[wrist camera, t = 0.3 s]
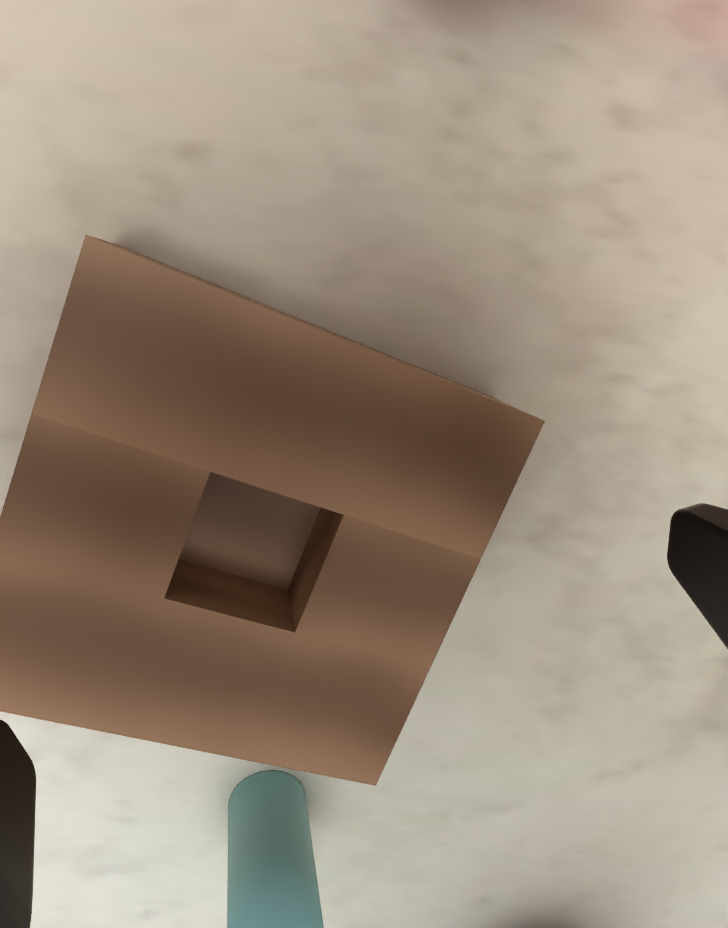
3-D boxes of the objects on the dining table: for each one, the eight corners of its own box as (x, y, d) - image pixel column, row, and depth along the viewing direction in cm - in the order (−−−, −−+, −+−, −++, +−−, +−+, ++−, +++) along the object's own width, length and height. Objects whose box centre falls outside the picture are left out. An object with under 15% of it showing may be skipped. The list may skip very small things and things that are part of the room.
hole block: (355, 713, 26) (375, 785, 23) (-7, 629, 22) (-56, 700, 19) (495, 399, 24) (544, 421, 20) (113, 243, 20) (85, 234, 16)
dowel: (289, 839, 27) (310, 1050, 20) (217, 827, 27) (210, 1043, 19) (316, 778, 27) (348, 972, 19) (243, 764, 26) (247, 961, 18)
